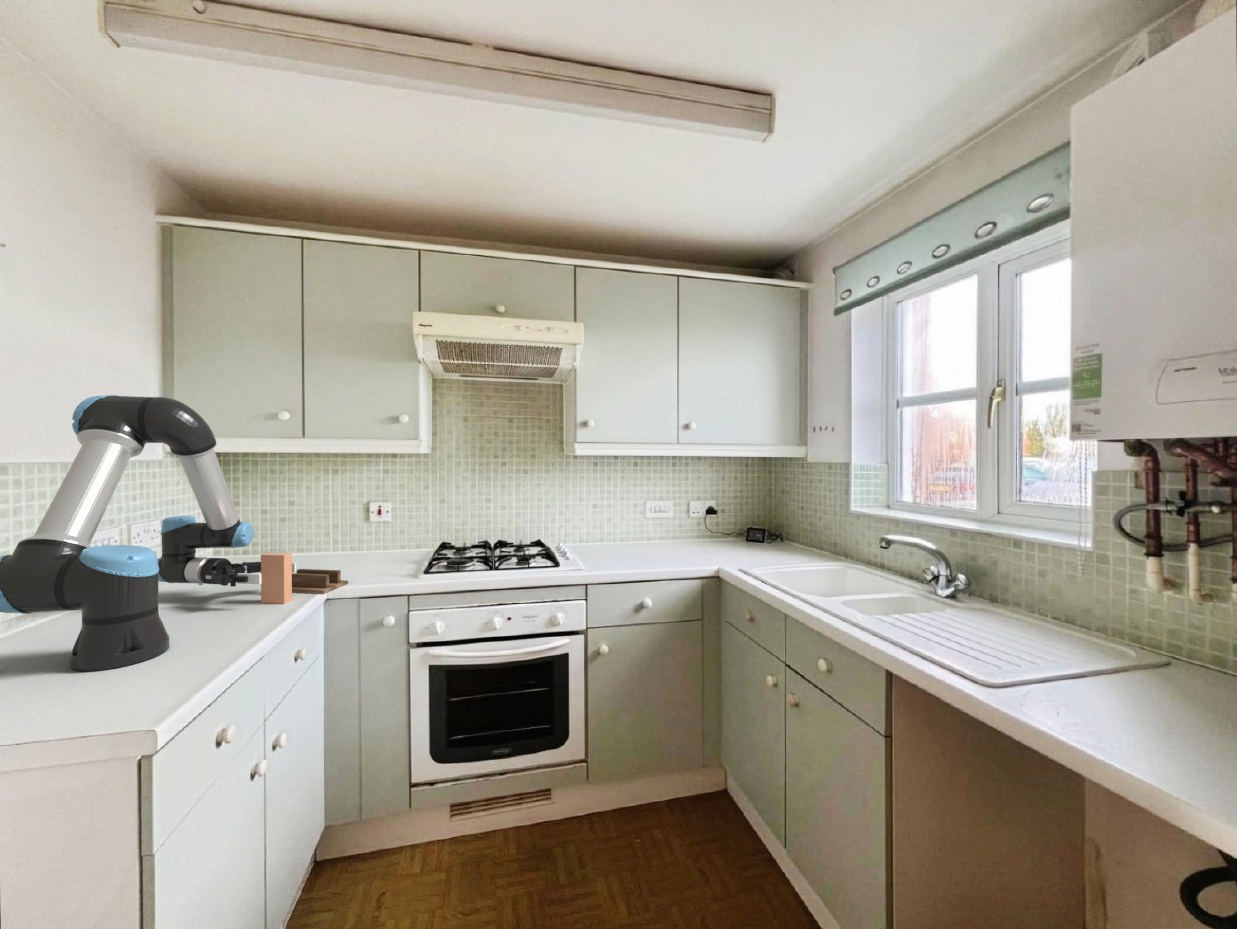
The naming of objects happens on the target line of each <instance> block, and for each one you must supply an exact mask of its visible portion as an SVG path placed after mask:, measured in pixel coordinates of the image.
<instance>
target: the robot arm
mask: <svg viewBox="0 0 1237 929" xmlns="http://www.w3.org/2000/svg"><path fill="white" fill-rule="evenodd" d="M71 420H73V423H71V426H72V430H73V432H74V434H75V435H76V439H77V441H78V443H79V444H80V445H81V447H80V449H79V451H78V453H77V455H76V456H75V458H74V460H73V462H72V464H71V465H70V468H69V469H68V470H67V471H68V472H66V474H65V477H64V478H63V480H62V481H61V484H60V486H59V488H58V489H57V492H56V494H55V495H54V497H53V498H52V501H51V503H50V505H49V507H48V508H47V510H46V512H45V514H44V515H43V517H42V519H41V521H40V523H39V525H38V527H37V529H36V530H35V533H33V534H34V535H32V536H29V537H26V538H24V539H21V540H20V541H19V542H18V543H17V545H16V546H15V549H13V552H12V554H7V555H6V554H5V555H1V556H0V613H1V614H2V613H3V614H23V615H25V614H27V615H28V614H33V613H49V612H51V613H52V612H67V611H70V612H71V611H81V628H80V631H79V633H78V636H77V638H76V640H75V642H74V645H73V648H72V651H71V652H70V653H69V654H70V655H69V667H70V669H71V670H74V671H85V672H91V671H101V670H102V671H103V670H104V671H105V670H110V669H117V668H122V667H126V666H130V665H134V664H137V663H141V662H144V661H148V660H150V659H153V658H155V657H158V656H159V655H161V654H164V653H165V652H167V651H168V650H169V649H170V635H169V634H168V632H167V629H166V627H165V625H164V623H163V621H162V619H161V616H160V615H159V614H160V613H159V582H160V583H169V584H198V585H199V586H203V585H205V584H208V585H220V586H223V587H226V586H229V584H230V586H229V587H236V586H237V584H241V585H242V584H245V585H261V584H262V579H261V561H252V562H251V561H243V562H242V563H237V562H236V563H231V561H230V560H229V559H228V558H224V557H222V558H221V557H201V556H199V557H198V556H197V557H196V549H219V548H222V549H224V548H225V549H229V548H230V549H235V548H243V547H248V546H249V545H251V543H252V542H253V539H254V533H255V532H254V531H255V530H254V526H253V524H252V523H251V522H250V521H249V522H248V521H241V520H240V517H239V515H238V513H237V510H236V507H235V505H234V502H233V499H232V497H231V494H230V491H229V488H228V485H227V483H226V482H227V481H226V479H225V476H224V474H223V470H222V468H221V466H220V462H219V460H218V457H217V453H216V452H215V448H216V446H217V444H218V443H217V440H216V437H215V435H214V431H213V430H212V429H211V427H210V426H209V424H208V422H206V420H205V419H204V418H203V417H202V416H201V415H200V414H199V413H198V412H197V411H196V410H195V409H193V408H191V407H190V406H188V405H187V404H186V403H184V402H181V401H179V400H176V399H175V398H169V397H166V396H164V397H163V396H133V395H132V396H130V395H129V396H123V395H117V394H108V395H95V396H94V395H93V396H90V397H87V398H86V399H83V400H82V401H81V402H80V403H78V405H77V406H76V408H75V409H74V411H73V413H72V418H71ZM154 443H155V444H165V445H166V446H168V447H169V450H170V451H171V453H172V454H173V455H174V456H177V457H178V458H179V461H180V463H181V465H182V468H183V470H184V472H185V473H184V474H185V476H186V477H187V480H188V483H189V485H190V487H191V490H192V492H193V494H194V497H195V499H196V502H197V504H198V506H199V507H198V508H199V509H200V512H201V514H202V516H203V519H204V521H205V522H197V520H196V517H195V516H193V515H176V516H168V517H165V518H164V519H162V522H161V532H160V535H161V557H159V558H158V555H157V553H156V552H155V551H154V550H153V549H152V548H149V547H146V546H142V545H133V544H115V545H111V544H106V545H96V546H91V545H90V544H91V543H92V540H93V537H94V535H95V534H96V531H97V529H98V527H99V525H100V523H101V521H102V520H103V516H104V514H105V512H106V511H107V508H108V506H109V504H110V502H111V500H112V498H113V496H114V493H115V491H116V489H117V486H118V485H119V482H120V480H121V478H122V475H123V474H124V473H125V472H124V471H125V469H126V467H127V465H128V463H129V461H130V459H131V458H134V457H137V456H139V455H141V454H142V452H143V450H144V448H145V446H146V444H154ZM292 573H297V562H292Z"/></svg>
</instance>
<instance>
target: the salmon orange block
mask: <svg viewBox="0 0 1237 929" xmlns="http://www.w3.org/2000/svg"><path fill="white" fill-rule="evenodd" d="M292 555H293V554H292V553H291V552H289V553H288V552H267V553H266V552H265V553H263V554H260V562H261V572H260V574H261V579H262V584H260V604H274V605H275V604H276V605H278V604H279V605H286V604H288V603H290V602H292V600H293V595H292V594H293V593H292V573H293V572H292V563H293V562H292V557H293V556H292Z"/></svg>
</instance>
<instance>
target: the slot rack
mask: <svg viewBox="0 0 1237 929" xmlns="http://www.w3.org/2000/svg"><path fill="white" fill-rule="evenodd" d="M341 573H342V570H340V569H316V568H315V569H313V568H312V569H311V568H299V569H298V568H297V569H296V572H292V594H313V595H315V594H316V595H318V594H319V595H325V594H327V593H330V592H332V591H335V590H336V589H339V588H341V587H343V586H346V585H348V584H349V580H341V578H342V576H341V575H342V574H341Z"/></svg>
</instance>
